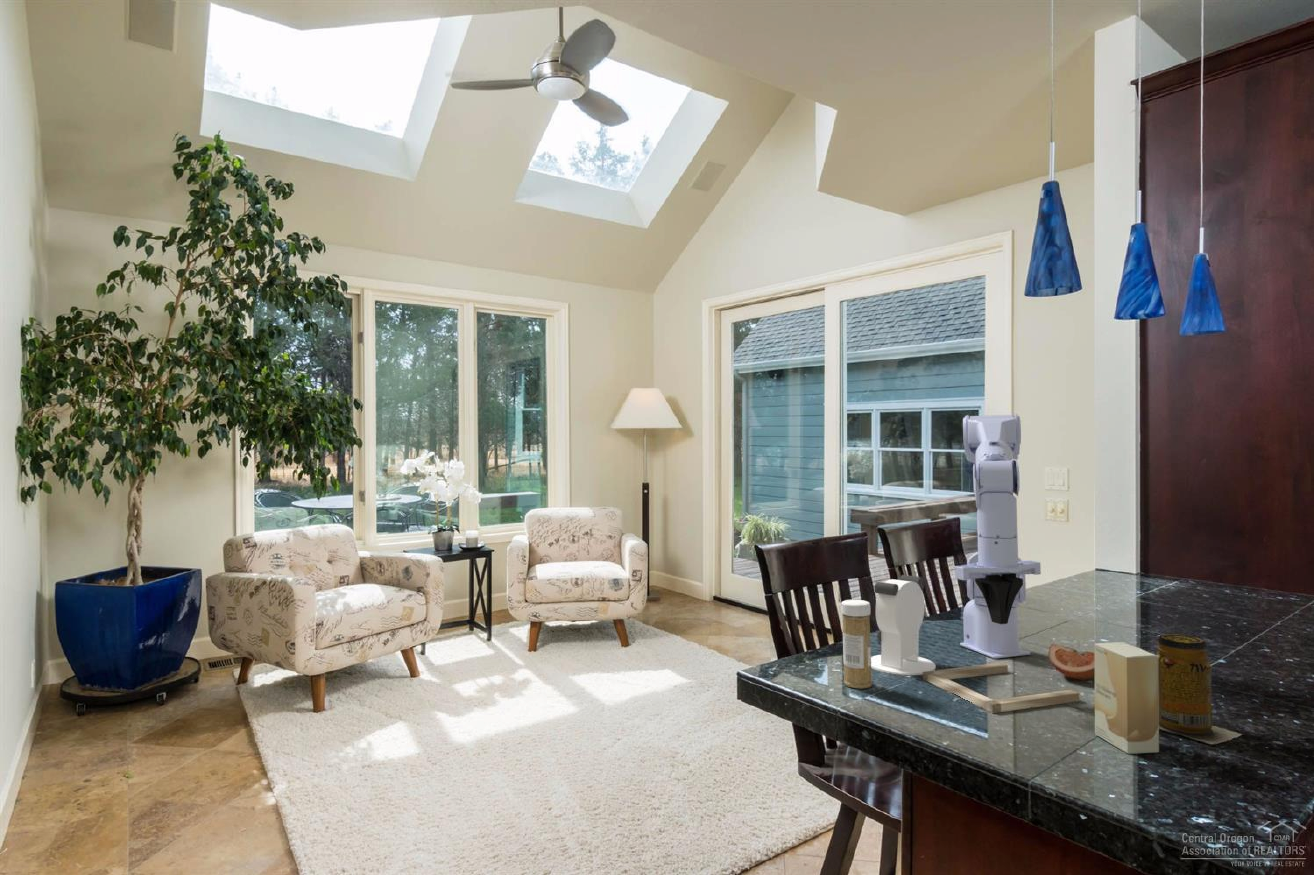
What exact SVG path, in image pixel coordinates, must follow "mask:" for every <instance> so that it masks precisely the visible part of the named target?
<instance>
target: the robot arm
mask: <svg viewBox="0 0 1314 875" xmlns="http://www.w3.org/2000/svg"><path fill="white" fill-rule="evenodd" d="M1021 425H1022V424H1021V417H1020V416H1019V415H1018V414H1017V413H1013V414H1001V415H1000V414H997V415H995V414H994V415H968V414H967V415H965V416H963V418H962V434H963V435H962V437H963V447H964V455H965V456H966V460H967V461H969V462H970V463H973V466H972V475H973V477H972V479H973V493H974V497H975V506H976V508H977V510H976V521H977V523H976V526H977V529H976V530H977V552H975V553H974V554H972V555H970V556H969V557H968V560H967V562H966V564H963V565H955V566H954V572H955V573H954V576H955V579H956V580H961V581H966V590H967V597H968V599H969V601H968V602H966V605H965V606H964V607H963V608H964V609H963V613H962V620H963V642H960V643H959V644H960V645H959V646H962V647H963V648H965V649H969V650H972V651H974V652H977V653H979V654H982V655H984V656H987V657H990V658H992V659H1002V658H1003V659H1004V658H1012V657H1013V658H1014V657H1019V656H1020V657H1021V656H1029V655H1031V651H1029V650H1026V649H1024V648H1021V647H1020V644H1019V643H1020V642H1019V641H1020V640H1019V638H1020V636H1019V635H1020V634H1019V607H1020V604H1023V603H1024V602H1025V601H1026V600H1027V597H1026V596H1027V585H1026V575H1036V576H1037V575H1041V573H1042V572H1041V562H1040V561H1036V560H1035V561H1034V560H1022V559H1021V558H1020V557H1019V548H1018V547H1019V545H1018V544H1019V543H1018V542H1019V538H1018V510H1017V508H1018V505H1017V497H1018V496H1019V493H1020V482H1021V481H1020V469H1019V463H1018V458H1019V455H1020V452H1021V451H1020V449H1021V442H1022V427H1021ZM1014 494H1015V495H1016V496H1015V495H1014Z"/></svg>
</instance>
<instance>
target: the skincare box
mask: <svg viewBox="0 0 1314 875" xmlns="http://www.w3.org/2000/svg"><path fill="white" fill-rule="evenodd" d="M1093 647H1094V653H1095V677H1094V734H1095V735H1096V736H1098V737H1100V738H1101V739H1102V740H1104V741H1106V742H1108V743H1109V744H1111V745H1112V746H1114V747H1116V748H1117V749H1119V750H1120V751H1123V752H1124V753H1126V754H1130V755H1131V754H1149V753H1150V754H1151V753H1159V752H1160V743H1159V742H1160V740H1159V739H1160V733H1159V732H1160V729H1159V680H1158V656H1157V655H1158V654H1154V653H1153V652H1152V653H1151V652H1149V651H1147V650H1144V649H1142V648H1140V647H1138V646H1133V645H1131V644H1130V643H1126V642H1124V641H1120V642H1119V641H1116V642H1100V643H1099V642H1098V643H1096V642H1095V643H1094V646H1093Z"/></svg>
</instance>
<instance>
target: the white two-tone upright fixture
mask: <svg viewBox="0 0 1314 875" xmlns="http://www.w3.org/2000/svg"><path fill="white" fill-rule="evenodd" d="M924 582H925V581H924V578H923V577H922V576H915V575H907V574H901V576H900V578H899V579H893V578H891V579H888V580H886V581H884V582H882V581H881V582H880V581H876V582H875V583H874V592H875V594H877V595H876V599H875V600H876V601H875V606H874V609H875V621H876V624H877V627H878V629H879V630H878V631H877V634H876V635H877V636H876V639H877V642H878V644H881V649H880V650H881V653H880V654H877V655H873V656H871V669H873V670H876V671H878V672H881V673H885V672H886V673H885V674H890V673H891V675H899V676H923V672H926V671H934V670H937V669H936V664H935V663H934V662H933V661H932V660H930V659H927V658H925V657H922V656H919V641H920V640H919V637H920V635H919V634H920V633H919V631H920V628H921V627H922V624H923V621H924V616H925V611H926V610H925V599H924V598H925V597H924V594H923V591H924V587H925V583H924Z"/></svg>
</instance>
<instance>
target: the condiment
mask: <svg viewBox="0 0 1314 875" xmlns="http://www.w3.org/2000/svg"><path fill="white" fill-rule="evenodd" d="M1157 641H1158V648H1157V649H1158V652H1159V653H1158V654H1156V655H1157V656H1158V680H1159V730H1161V731H1165V732H1168V733H1171V734H1175V735H1181V736H1183V737H1186V738H1189V739H1191V740H1195V741H1199V742H1203V743H1206V744H1210V745H1217V744H1220V743H1224V742H1227V741H1231V740H1233V739H1234V738H1238V737H1240V736H1242V735H1243V734H1241V733H1238V732H1236V731H1232V730H1228V729H1226V728H1222V727H1219V726H1216V725H1214V724H1213V702H1212V698H1213V696H1212V672H1211V669H1212V667H1211V663H1210V662H1209V661H1208V652H1207V642H1206V641H1205V640H1203V639H1202V638H1199V637H1194V636H1191V635H1185V634H1176V633H1175V634H1174V633H1173V634H1171V633H1169V634H1162V635H1159V637H1158V640H1157Z"/></svg>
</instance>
